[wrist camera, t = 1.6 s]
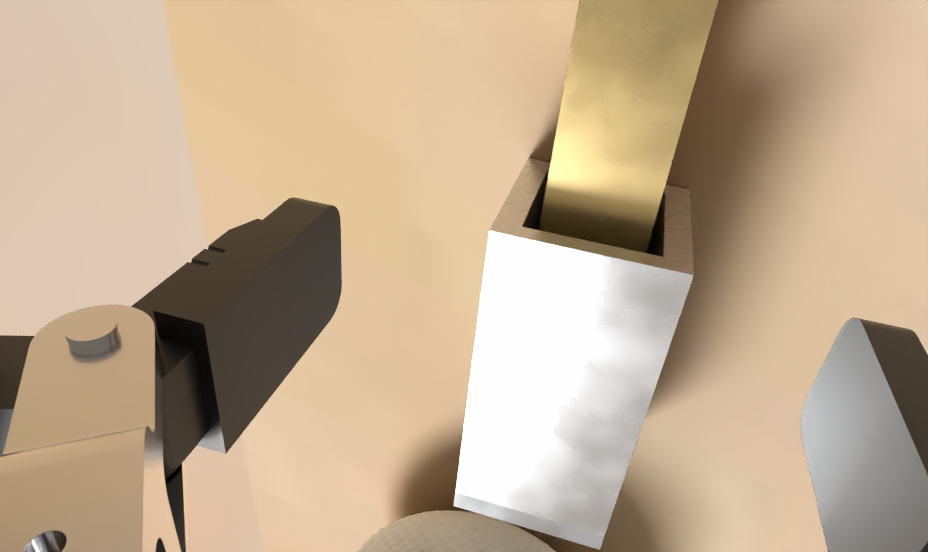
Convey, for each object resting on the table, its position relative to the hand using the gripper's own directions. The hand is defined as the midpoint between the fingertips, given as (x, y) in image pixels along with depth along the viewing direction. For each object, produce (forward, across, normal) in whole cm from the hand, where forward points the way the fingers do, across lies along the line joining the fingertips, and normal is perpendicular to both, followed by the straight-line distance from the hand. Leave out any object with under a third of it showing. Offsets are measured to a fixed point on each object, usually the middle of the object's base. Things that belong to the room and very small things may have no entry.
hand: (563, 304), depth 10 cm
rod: (+17, 0, +5) cm, 17 cm away
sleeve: (+18, 0, +12) cm, 22 cm away
